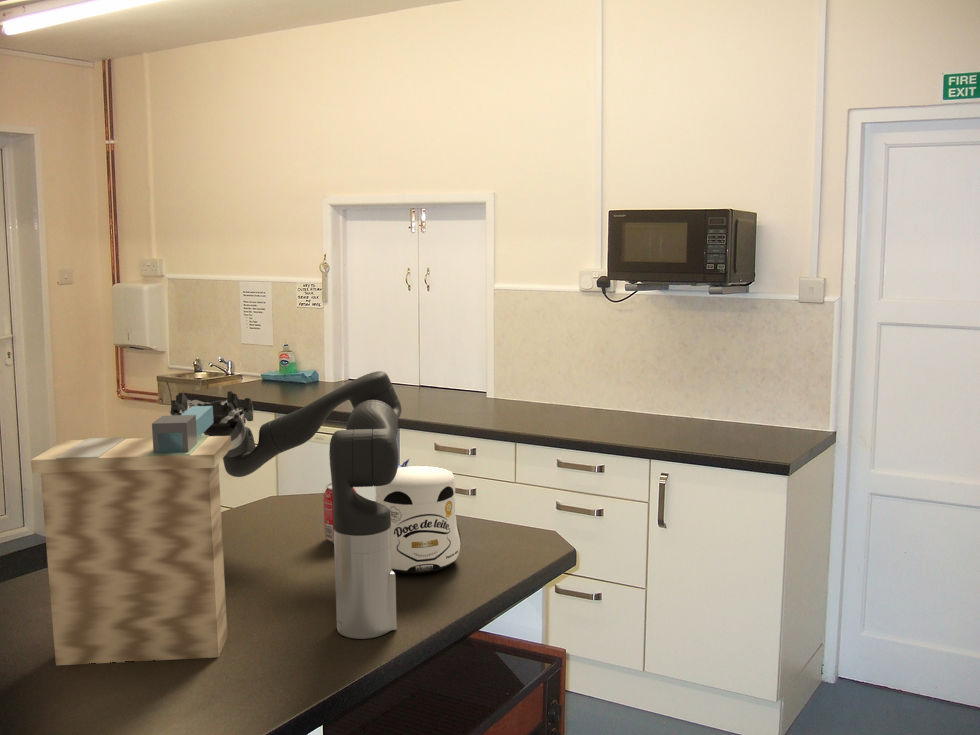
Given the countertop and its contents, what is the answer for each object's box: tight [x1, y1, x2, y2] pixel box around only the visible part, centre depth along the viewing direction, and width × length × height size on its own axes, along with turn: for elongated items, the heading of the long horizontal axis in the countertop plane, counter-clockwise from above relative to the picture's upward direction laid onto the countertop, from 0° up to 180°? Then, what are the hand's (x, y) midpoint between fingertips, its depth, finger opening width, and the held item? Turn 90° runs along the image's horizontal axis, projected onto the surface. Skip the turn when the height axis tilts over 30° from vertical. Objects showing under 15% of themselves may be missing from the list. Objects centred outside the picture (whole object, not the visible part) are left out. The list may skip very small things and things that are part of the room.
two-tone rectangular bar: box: [151, 406, 214, 453], centre depth 143 cm, size 5×22×4 cm, turn 6°
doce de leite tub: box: [375, 465, 462, 574], centre depth 174 cm, size 17×17×18 cm
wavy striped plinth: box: [30, 434, 231, 666], centre depth 139 cm, size 26×13×32 cm, turn 96°
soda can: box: [323, 482, 357, 544], centre depth 189 cm, size 7×7×12 cm
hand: (204, 396), depth 158 cm, fingers open, 8 cm apart
